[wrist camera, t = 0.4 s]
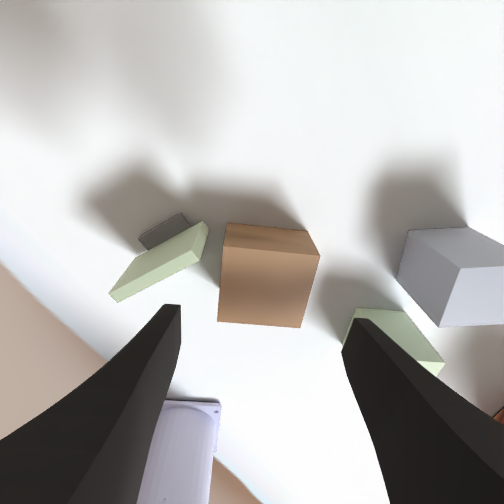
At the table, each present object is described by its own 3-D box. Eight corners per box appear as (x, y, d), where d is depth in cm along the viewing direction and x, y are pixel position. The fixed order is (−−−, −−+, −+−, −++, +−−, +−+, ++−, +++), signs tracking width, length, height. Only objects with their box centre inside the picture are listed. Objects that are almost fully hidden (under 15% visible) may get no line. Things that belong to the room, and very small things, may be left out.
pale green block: (218, 238, 20) (210, 275, 15) (154, 272, 21) (129, 314, 17) (195, 204, 19) (179, 233, 14) (128, 242, 20) (94, 280, 15)
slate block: (450, 276, 22) (507, 323, 17) (395, 279, 22) (438, 327, 17) (468, 226, 20) (540, 264, 15) (408, 230, 20) (460, 268, 15)
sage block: (386, 347, 26) (419, 402, 21) (341, 343, 25) (364, 398, 21) (404, 311, 24) (445, 363, 19) (356, 307, 23) (385, 358, 18)
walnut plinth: (291, 294, 23) (300, 328, 19) (221, 287, 22) (217, 321, 19) (307, 230, 20) (320, 256, 16) (227, 221, 19) (223, 246, 16)
